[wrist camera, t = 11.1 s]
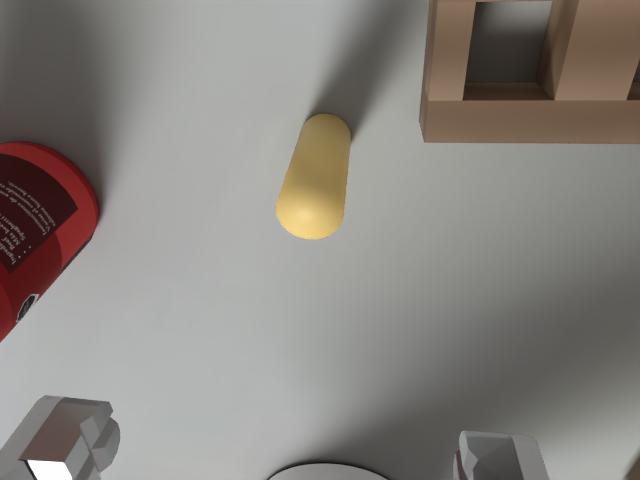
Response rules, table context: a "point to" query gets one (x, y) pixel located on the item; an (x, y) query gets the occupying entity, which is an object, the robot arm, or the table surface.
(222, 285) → the table surface
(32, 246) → the canned food
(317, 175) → the peg
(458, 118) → the socket board
